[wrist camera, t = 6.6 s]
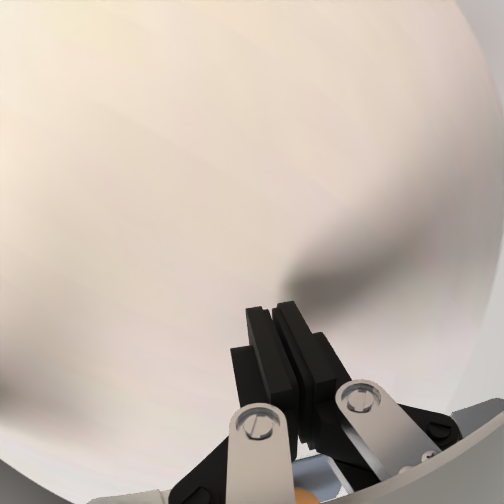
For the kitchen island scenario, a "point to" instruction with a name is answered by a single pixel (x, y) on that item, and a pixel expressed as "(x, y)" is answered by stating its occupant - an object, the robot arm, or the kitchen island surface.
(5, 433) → the kitchen island surface
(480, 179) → the kitchen island surface
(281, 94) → the kitchen island surface
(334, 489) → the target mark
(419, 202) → the kitchen island surface
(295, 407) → the robot arm
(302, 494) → the ball
